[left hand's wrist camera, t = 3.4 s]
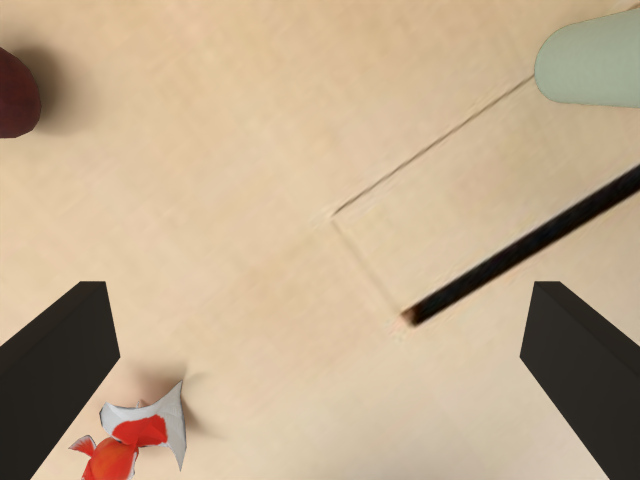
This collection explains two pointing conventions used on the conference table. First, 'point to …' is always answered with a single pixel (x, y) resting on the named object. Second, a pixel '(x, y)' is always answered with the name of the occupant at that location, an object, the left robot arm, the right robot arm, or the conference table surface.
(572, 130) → the conference table surface
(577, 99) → the bottle
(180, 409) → the fish
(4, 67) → the dark maroon ball
